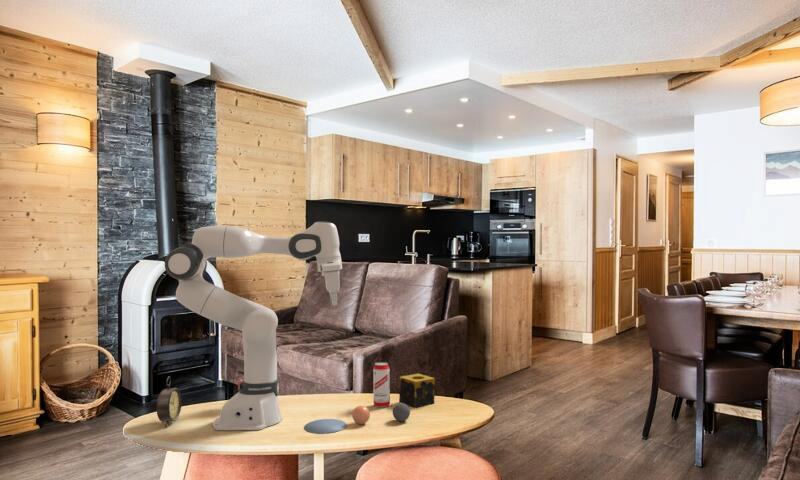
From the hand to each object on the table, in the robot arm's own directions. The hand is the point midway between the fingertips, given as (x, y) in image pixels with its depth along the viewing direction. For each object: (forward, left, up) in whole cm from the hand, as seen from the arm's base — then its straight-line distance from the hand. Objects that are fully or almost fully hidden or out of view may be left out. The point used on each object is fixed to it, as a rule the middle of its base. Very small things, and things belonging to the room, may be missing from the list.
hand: (334, 303), depth 177 cm
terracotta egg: (+8, -10, -37) cm, 39 cm away
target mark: (-4, -10, -40) cm, 41 cm away
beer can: (+18, +9, -40) cm, 45 cm away
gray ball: (+22, -10, -37) cm, 44 cm away
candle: (+32, +10, -40) cm, 53 cm away
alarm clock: (-57, +4, -40) cm, 70 cm away
